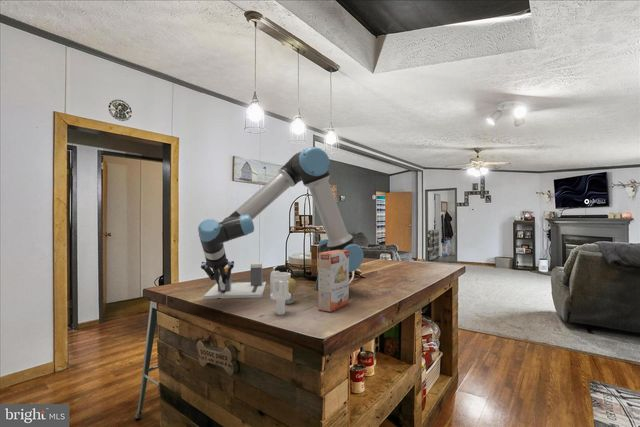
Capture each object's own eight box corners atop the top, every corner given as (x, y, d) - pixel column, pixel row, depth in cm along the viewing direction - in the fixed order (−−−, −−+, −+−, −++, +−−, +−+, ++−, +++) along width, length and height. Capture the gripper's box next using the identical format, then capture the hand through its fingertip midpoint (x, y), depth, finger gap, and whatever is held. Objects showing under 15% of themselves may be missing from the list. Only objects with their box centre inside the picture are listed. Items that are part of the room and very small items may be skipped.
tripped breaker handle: (229, 290, 145) (229, 267, 145) (217, 291, 144) (217, 268, 144) (231, 288, 149) (231, 266, 149) (219, 289, 148) (219, 266, 148)
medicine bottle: (289, 291, 149) (289, 265, 149) (286, 295, 142) (286, 267, 142) (273, 291, 150) (273, 264, 150) (269, 295, 143) (269, 267, 143)
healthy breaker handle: (261, 285, 156) (261, 264, 156) (250, 285, 155) (250, 264, 155) (262, 283, 160) (262, 262, 160) (251, 283, 159) (251, 263, 159)
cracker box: (331, 313, 117) (331, 253, 117) (317, 310, 120) (317, 252, 120) (350, 303, 128) (349, 249, 128) (336, 301, 132) (336, 249, 132)
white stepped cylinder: (266, 312, 117) (266, 270, 117) (284, 309, 121) (283, 268, 121) (277, 317, 112) (276, 273, 112) (294, 313, 116) (294, 270, 116)
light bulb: (278, 305, 127) (278, 279, 127) (282, 300, 133) (282, 275, 134) (294, 305, 126) (294, 279, 126) (298, 301, 133) (298, 276, 133)
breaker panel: (262, 297, 139) (262, 294, 139) (203, 299, 137) (203, 295, 137) (266, 284, 165) (266, 281, 165) (216, 285, 163) (216, 282, 163)
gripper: (233, 245, 130) (239, 279, 147) (198, 245, 129) (208, 280, 145) (231, 260, 125) (237, 294, 141) (195, 261, 123) (206, 295, 140)
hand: (223, 287), depth 143 cm, fingers closed
